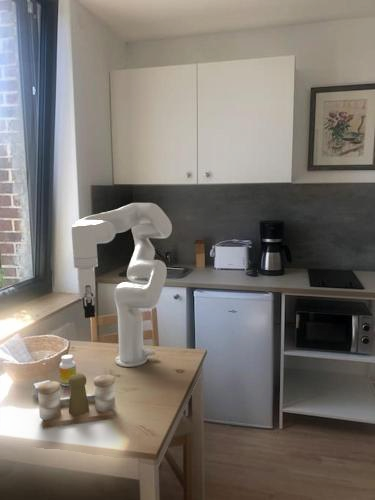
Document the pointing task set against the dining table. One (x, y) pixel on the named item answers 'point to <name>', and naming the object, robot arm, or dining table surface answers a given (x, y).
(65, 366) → the supplement bottle
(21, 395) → the dining table surface
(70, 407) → the cork
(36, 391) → the grey rectangular block
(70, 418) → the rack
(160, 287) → the robot arm
